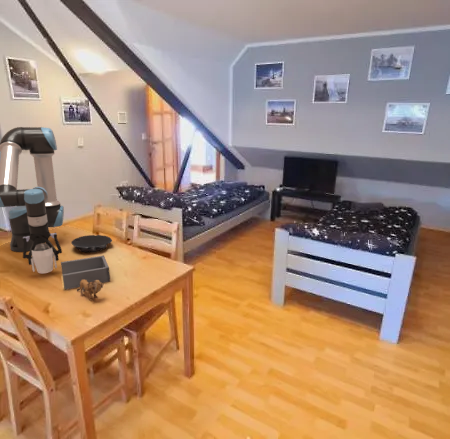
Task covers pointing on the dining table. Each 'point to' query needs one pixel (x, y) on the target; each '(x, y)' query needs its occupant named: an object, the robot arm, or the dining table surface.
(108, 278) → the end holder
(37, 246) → the cup
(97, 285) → the lion figurine
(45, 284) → the dining table surface
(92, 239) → the board
